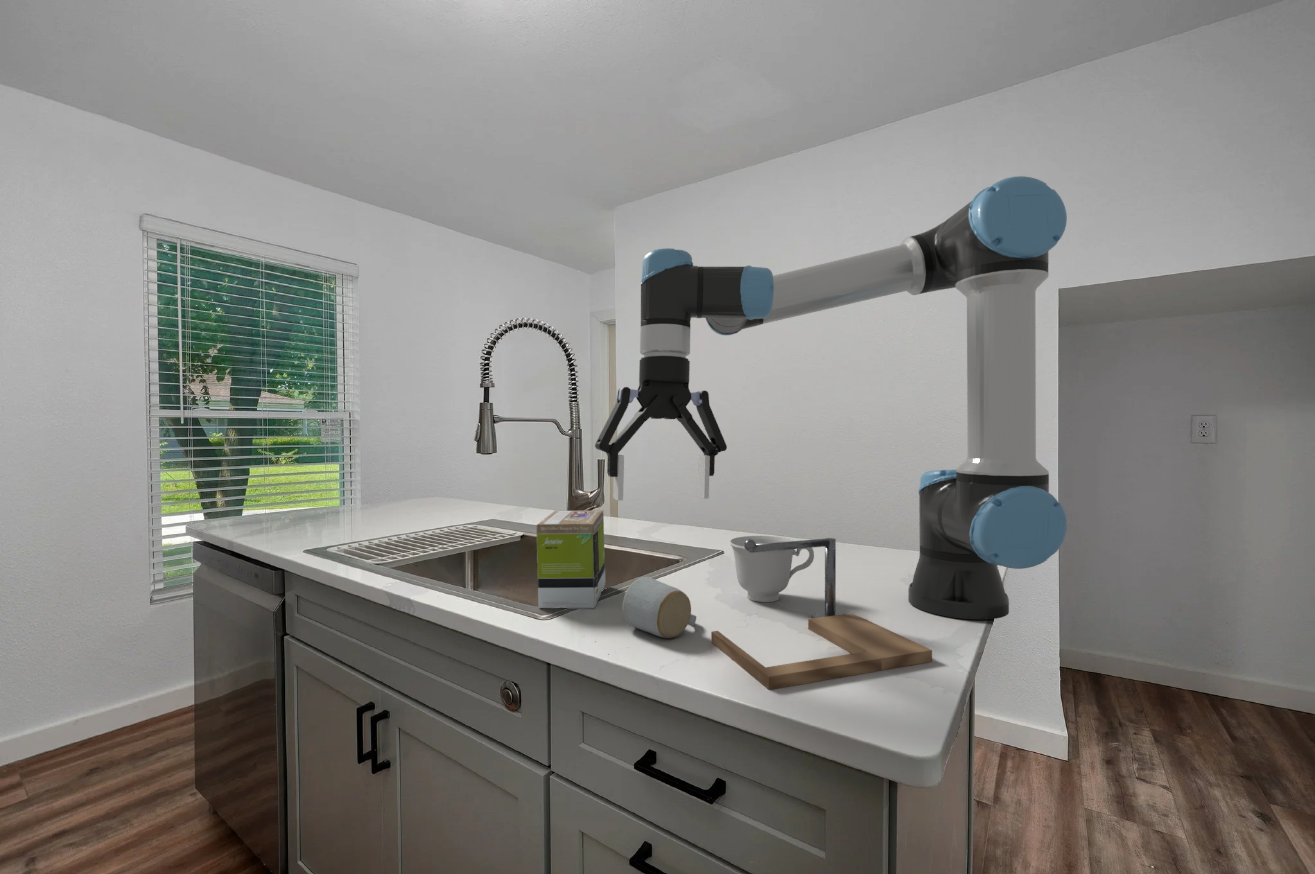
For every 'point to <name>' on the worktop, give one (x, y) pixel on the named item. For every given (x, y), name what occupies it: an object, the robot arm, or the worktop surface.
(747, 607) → the worktop surface
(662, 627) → the ceramic mug
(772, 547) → the bent metal bar
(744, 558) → the teacup
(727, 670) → the worktop surface
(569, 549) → the tea box
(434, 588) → the worktop surface
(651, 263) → the robot arm
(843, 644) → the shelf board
